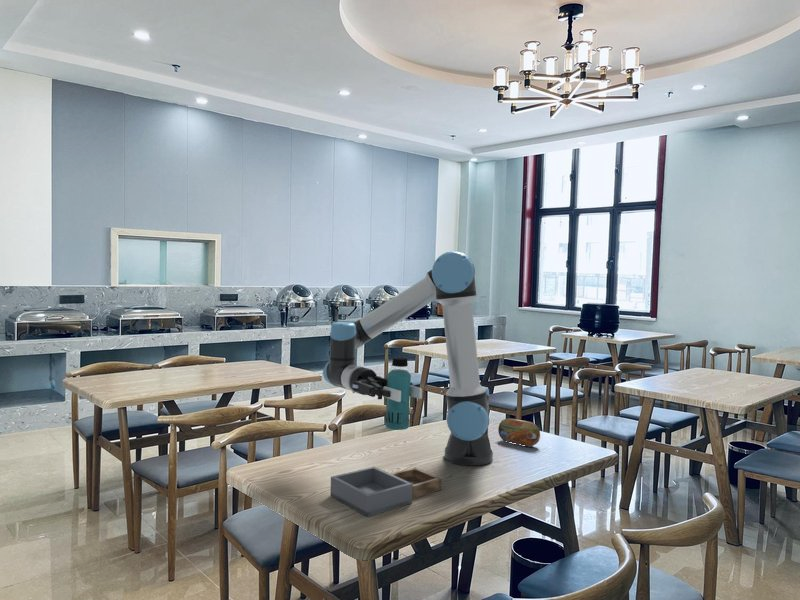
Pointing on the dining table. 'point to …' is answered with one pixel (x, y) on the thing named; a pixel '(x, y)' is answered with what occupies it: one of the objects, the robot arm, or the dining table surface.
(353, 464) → the dining table surface
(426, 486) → the box
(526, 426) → the tin
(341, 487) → the tub
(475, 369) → the robot arm
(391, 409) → the beverage bottle
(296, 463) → the dining table surface
